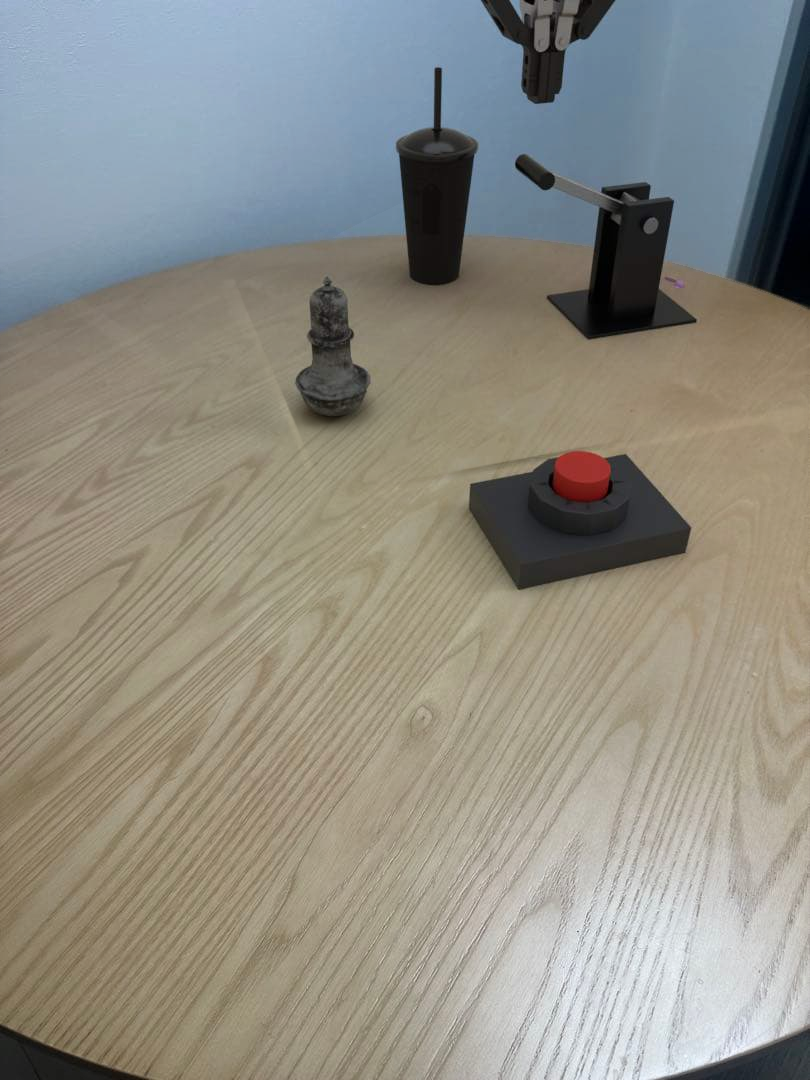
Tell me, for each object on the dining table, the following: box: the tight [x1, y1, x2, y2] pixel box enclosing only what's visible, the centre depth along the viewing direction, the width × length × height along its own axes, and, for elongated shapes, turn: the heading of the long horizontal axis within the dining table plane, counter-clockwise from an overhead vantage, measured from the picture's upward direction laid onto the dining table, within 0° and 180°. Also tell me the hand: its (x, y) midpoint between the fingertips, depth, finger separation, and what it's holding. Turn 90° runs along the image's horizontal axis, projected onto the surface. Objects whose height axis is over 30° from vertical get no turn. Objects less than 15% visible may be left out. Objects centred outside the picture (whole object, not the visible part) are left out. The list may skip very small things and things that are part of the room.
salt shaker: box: [294, 275, 371, 417], centre depth 72 cm, size 6×6×12 cm
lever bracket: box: [546, 181, 698, 341], centre depth 86 cm, size 11×9×12 cm
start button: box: [553, 450, 611, 503], centre depth 62 cm, size 4×4×2 cm
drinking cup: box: [395, 66, 479, 286], centre depth 89 cm, size 8×8×20 cm
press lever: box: [514, 153, 641, 225], centre depth 81 cm, size 13×5×2 cm, turn 108°
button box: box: [468, 453, 692, 591], centre depth 63 cm, size 12×9×4 cm
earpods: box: [664, 276, 685, 289], centre depth 94 cm, size 3×2×2 cm
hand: (540, 100), depth 74 cm, fingers closed
